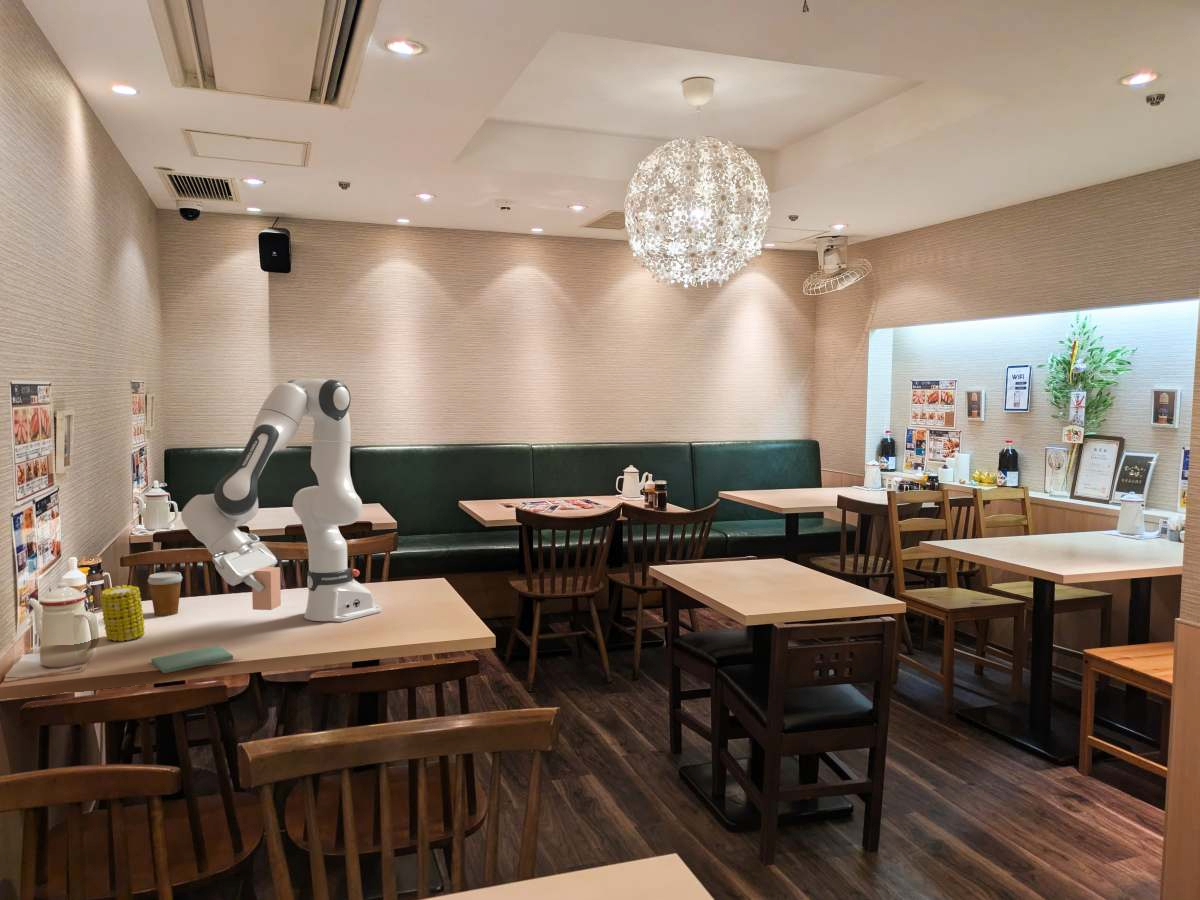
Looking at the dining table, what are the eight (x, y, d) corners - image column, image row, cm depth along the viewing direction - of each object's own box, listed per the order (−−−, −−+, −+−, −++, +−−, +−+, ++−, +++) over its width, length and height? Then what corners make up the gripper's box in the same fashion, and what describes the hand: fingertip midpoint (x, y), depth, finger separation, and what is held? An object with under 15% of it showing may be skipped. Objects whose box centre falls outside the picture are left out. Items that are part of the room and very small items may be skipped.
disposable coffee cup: (183, 615, 252) (182, 576, 251) (147, 619, 248) (146, 579, 247) (184, 608, 260) (182, 570, 260) (149, 611, 256) (148, 573, 255)
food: (151, 640, 231) (115, 652, 223) (126, 625, 237) (90, 636, 228) (155, 590, 228) (118, 599, 219) (129, 576, 233) (93, 584, 225)
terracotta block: (262, 604, 218) (261, 566, 218) (280, 605, 218) (280, 567, 217) (252, 609, 213) (251, 570, 213) (271, 610, 213) (270, 571, 212)
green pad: (218, 649, 219) (218, 645, 219) (233, 659, 211) (232, 655, 211) (151, 662, 208) (151, 658, 208) (164, 673, 200) (163, 669, 200)
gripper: (217, 547, 205) (256, 587, 204) (259, 533, 225) (294, 570, 225) (200, 564, 205) (239, 605, 205) (243, 549, 226) (279, 586, 225)
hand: (268, 586), depth 215 cm, fingers closed on terracotta block, 5 cm apart
